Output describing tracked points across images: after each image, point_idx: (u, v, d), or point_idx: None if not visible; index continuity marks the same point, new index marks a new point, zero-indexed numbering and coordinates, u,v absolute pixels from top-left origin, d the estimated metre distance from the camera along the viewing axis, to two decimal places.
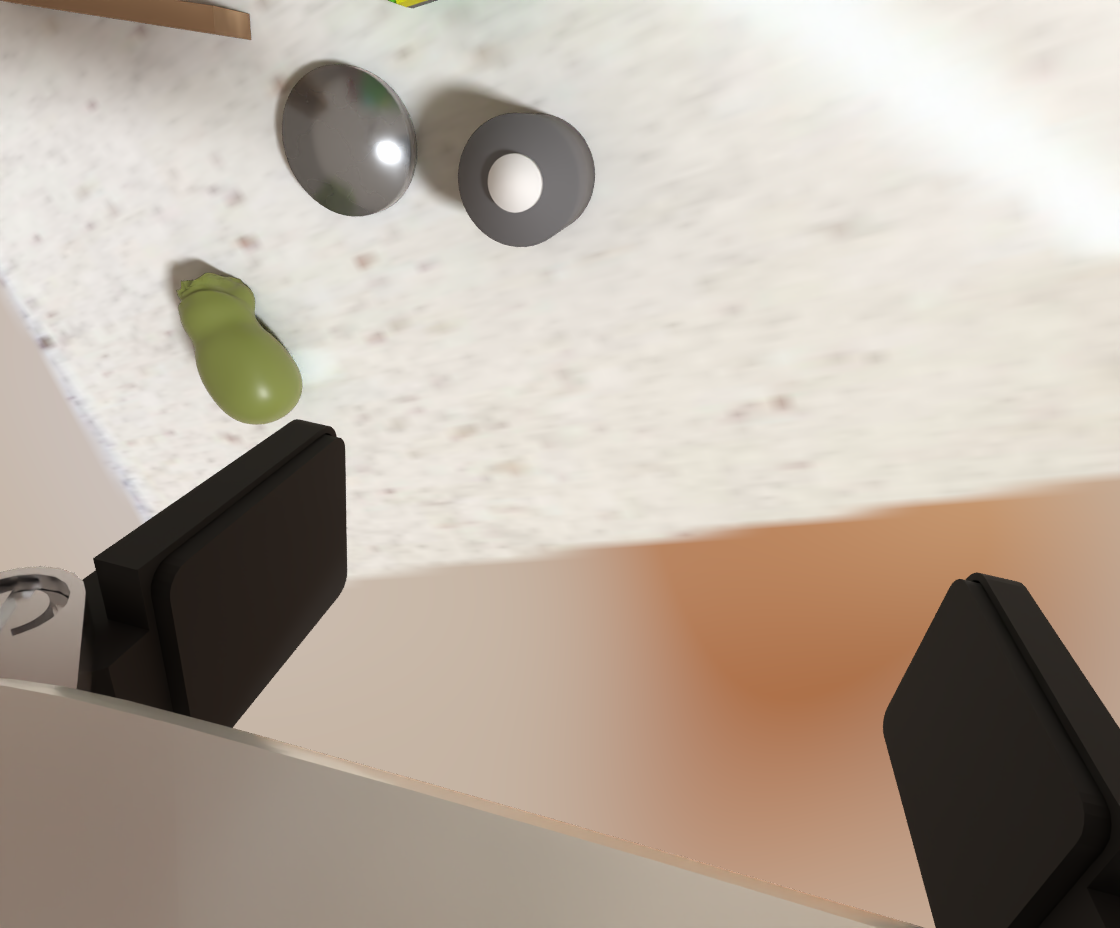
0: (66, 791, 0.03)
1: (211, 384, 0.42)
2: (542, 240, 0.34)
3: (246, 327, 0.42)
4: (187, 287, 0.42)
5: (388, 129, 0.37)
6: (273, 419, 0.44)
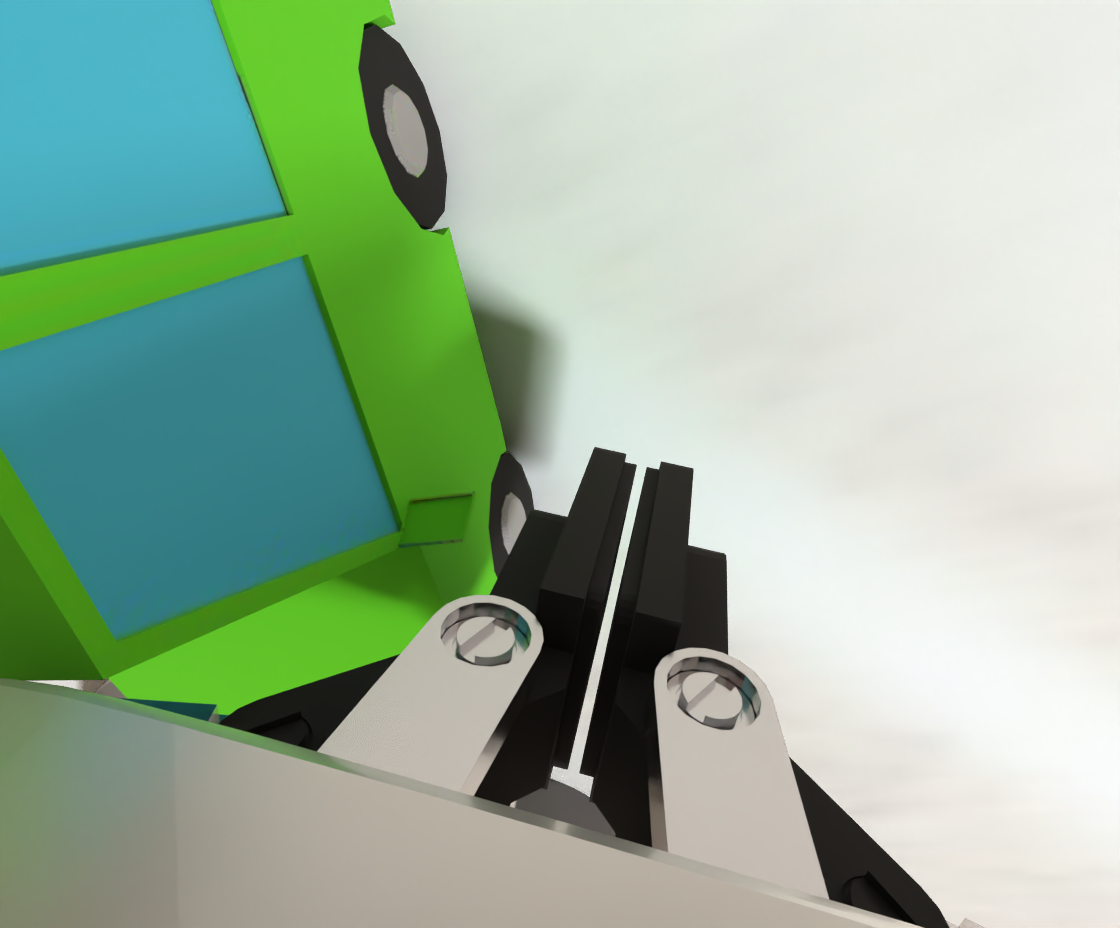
0: (67, 791, 0.04)
1: None
2: None
3: None
4: None
5: None
6: None
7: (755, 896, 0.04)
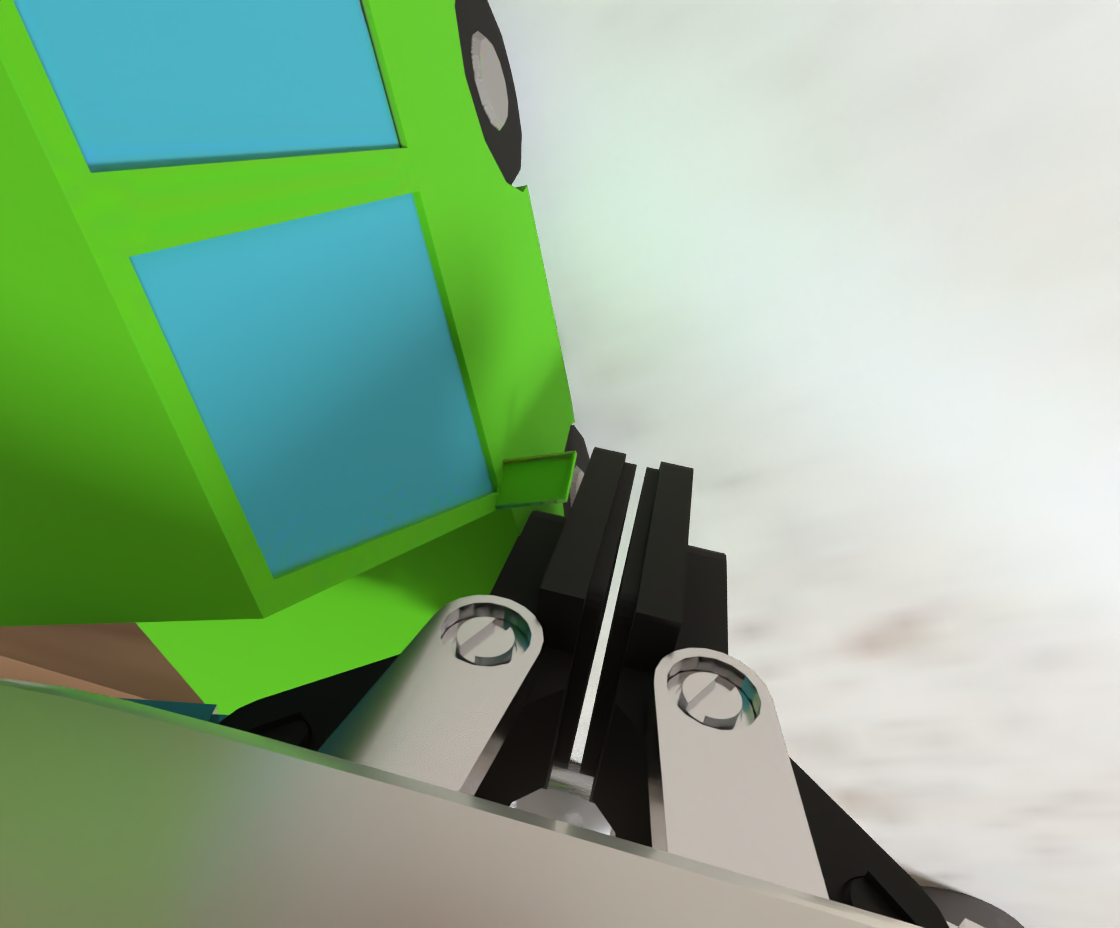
0: (67, 790, 0.04)
1: None
2: None
3: None
4: None
5: None
6: None
7: (755, 895, 0.04)
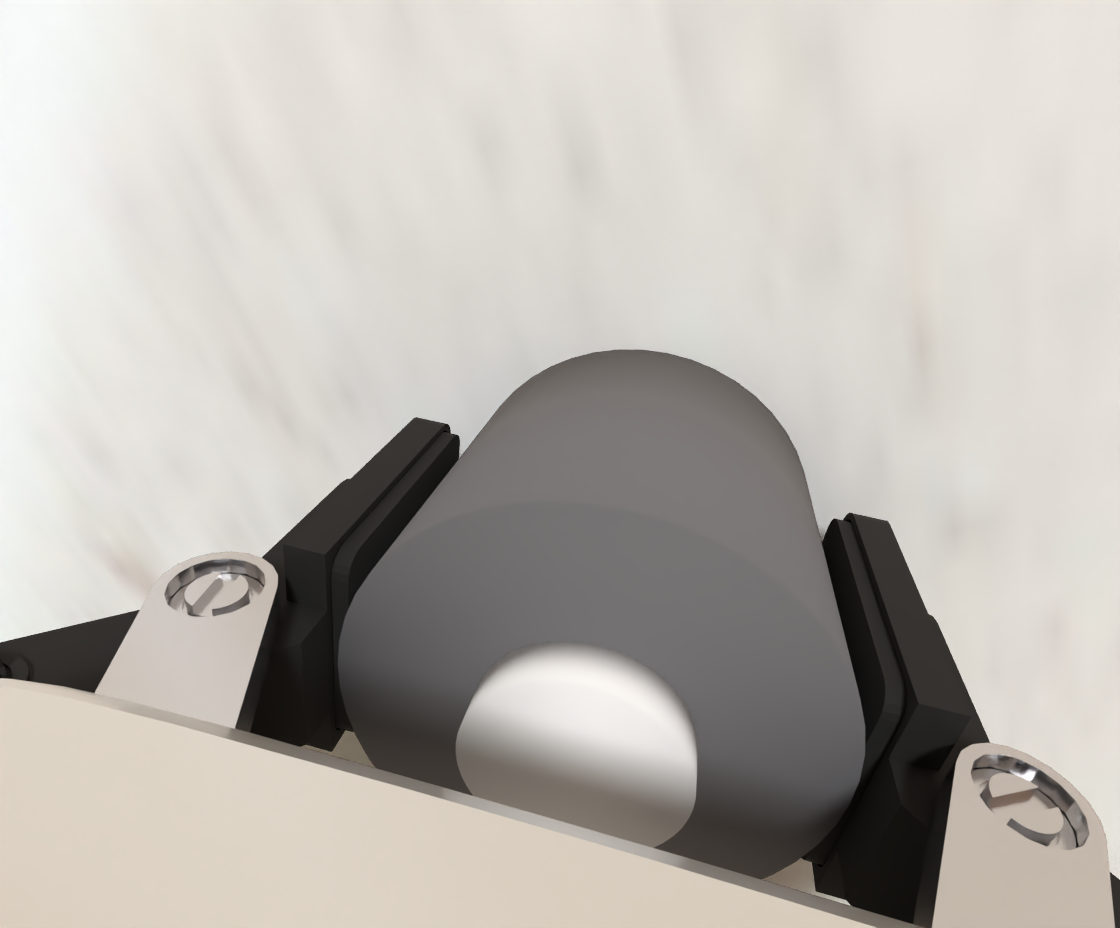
0: (67, 790, 0.04)
1: None
2: (848, 687, 0.07)
3: None
4: None
5: None
6: None
7: (755, 896, 0.04)
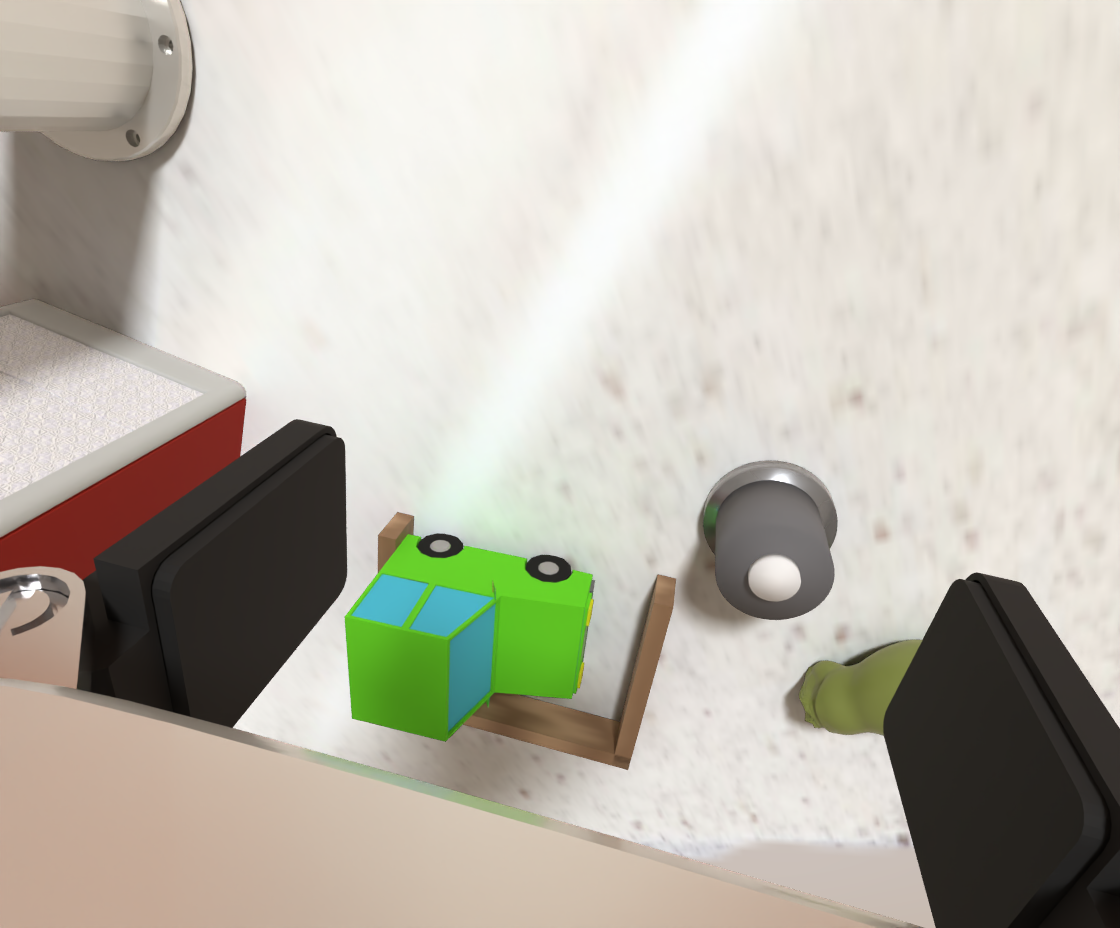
0: (67, 791, 0.04)
1: None
2: (831, 561, 0.34)
3: (855, 680, 0.41)
4: (811, 718, 0.43)
5: None
6: None
7: (755, 896, 0.04)
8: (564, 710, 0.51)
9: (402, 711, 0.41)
